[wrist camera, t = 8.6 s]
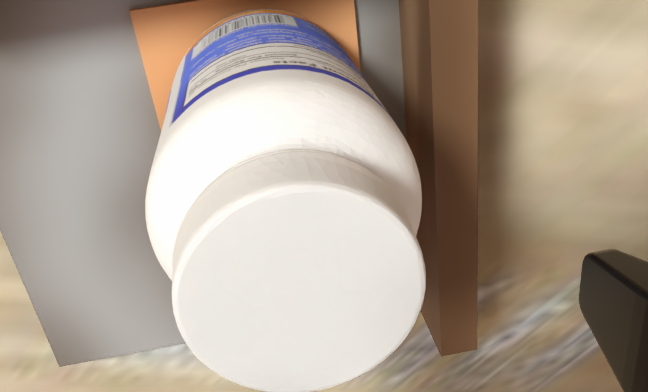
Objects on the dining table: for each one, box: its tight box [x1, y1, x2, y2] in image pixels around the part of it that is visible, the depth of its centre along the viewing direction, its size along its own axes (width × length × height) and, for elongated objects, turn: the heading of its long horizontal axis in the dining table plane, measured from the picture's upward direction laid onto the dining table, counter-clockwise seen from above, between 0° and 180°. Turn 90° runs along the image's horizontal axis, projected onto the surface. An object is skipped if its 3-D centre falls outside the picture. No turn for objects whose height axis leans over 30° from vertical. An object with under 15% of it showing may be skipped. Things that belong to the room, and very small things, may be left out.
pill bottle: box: [145, 9, 426, 392], centre depth 14 cm, size 5×5×10 cm
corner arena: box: [0, 0, 478, 367], centre depth 18 cm, size 14×14×4 cm
